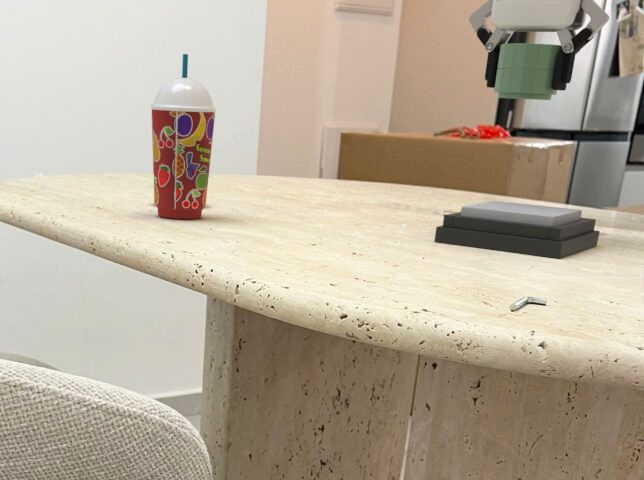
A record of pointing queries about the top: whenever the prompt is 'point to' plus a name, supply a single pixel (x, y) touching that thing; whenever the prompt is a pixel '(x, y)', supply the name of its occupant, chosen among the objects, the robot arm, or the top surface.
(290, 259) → the top surface
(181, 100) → the smoothie
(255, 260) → the top surface
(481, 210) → the pan
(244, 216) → the top surface
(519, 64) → the green stacked cylinder
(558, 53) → the robot arm
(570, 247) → the scale
